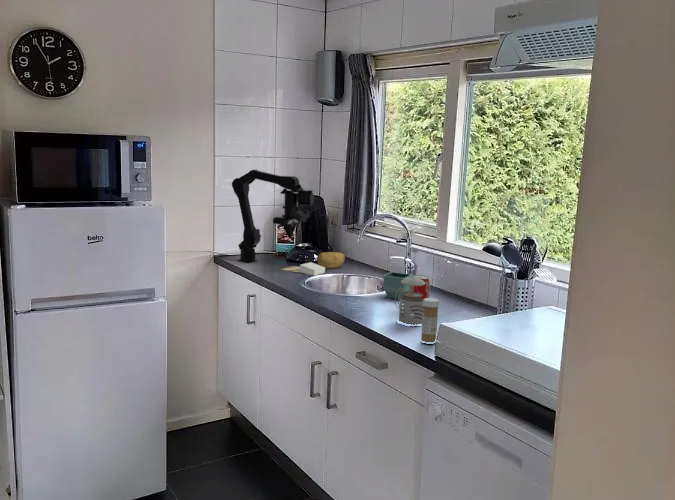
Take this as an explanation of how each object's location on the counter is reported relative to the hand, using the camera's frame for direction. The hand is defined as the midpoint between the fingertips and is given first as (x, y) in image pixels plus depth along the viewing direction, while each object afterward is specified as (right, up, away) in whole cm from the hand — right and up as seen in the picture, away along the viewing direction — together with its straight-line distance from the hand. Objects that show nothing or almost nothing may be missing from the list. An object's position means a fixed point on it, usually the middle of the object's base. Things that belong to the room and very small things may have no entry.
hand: (289, 237), depth 288 cm
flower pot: (+44, -24, -48) cm, 70 cm away
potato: (+19, -14, 0) cm, 24 cm away
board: (+4, -15, -9) cm, 18 cm away
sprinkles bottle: (+49, -34, -101) cm, 117 cm away
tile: (+8, -13, -13) cm, 20 cm away
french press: (+45, -30, -82) cm, 98 cm away
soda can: (+51, -27, -64) cm, 86 cm away
